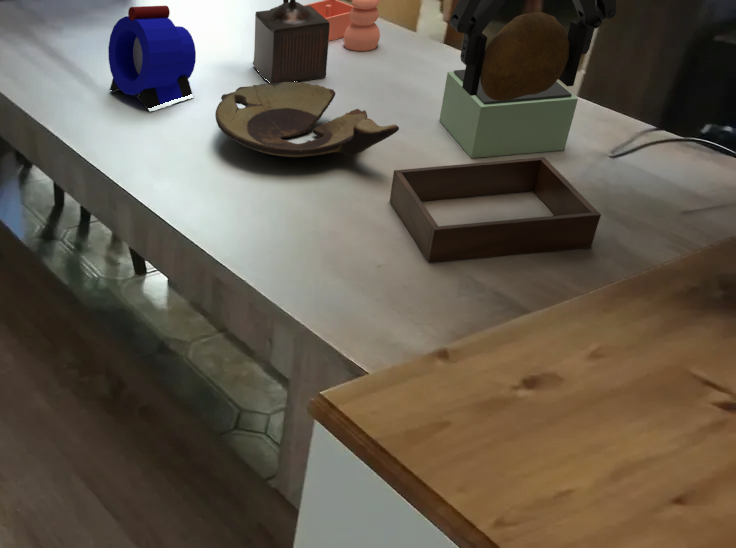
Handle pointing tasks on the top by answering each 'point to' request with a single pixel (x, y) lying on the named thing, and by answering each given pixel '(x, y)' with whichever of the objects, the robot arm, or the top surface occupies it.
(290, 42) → the brown coffee grinder
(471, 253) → the tray
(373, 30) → the pottery
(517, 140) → the stand
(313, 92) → the broken ceramic bowl
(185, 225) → the top surface
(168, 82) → the blue spotlight
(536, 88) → the potato
